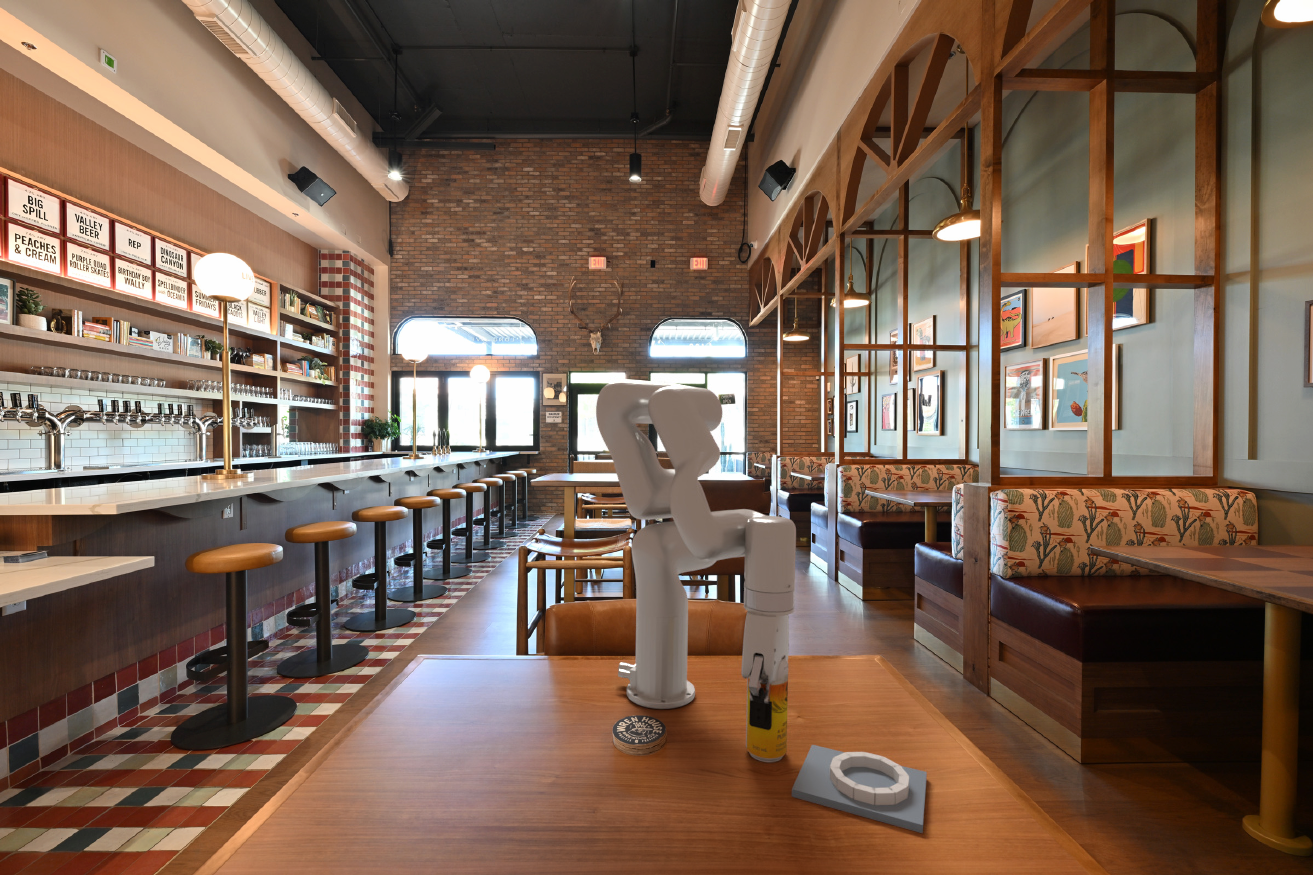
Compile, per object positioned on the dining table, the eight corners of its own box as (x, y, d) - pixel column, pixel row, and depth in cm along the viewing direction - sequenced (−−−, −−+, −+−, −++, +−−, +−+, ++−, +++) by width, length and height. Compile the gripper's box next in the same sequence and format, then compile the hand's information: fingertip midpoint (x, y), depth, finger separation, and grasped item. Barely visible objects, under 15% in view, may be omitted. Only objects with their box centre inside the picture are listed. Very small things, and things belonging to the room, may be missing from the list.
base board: (791, 796, 81) (792, 777, 81) (812, 750, 92) (812, 734, 92) (922, 833, 74) (922, 812, 74) (926, 778, 85) (926, 761, 85)
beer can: (786, 766, 88) (788, 663, 88) (744, 761, 89) (746, 660, 89) (786, 745, 94) (788, 649, 94) (746, 740, 95) (748, 645, 95)
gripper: (761, 583, 101) (758, 690, 101) (726, 610, 85) (723, 737, 85) (806, 589, 97) (804, 700, 97) (779, 618, 82) (776, 750, 82)
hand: (766, 716), depth 91 cm, fingers closed on beer can, 6 cm apart
